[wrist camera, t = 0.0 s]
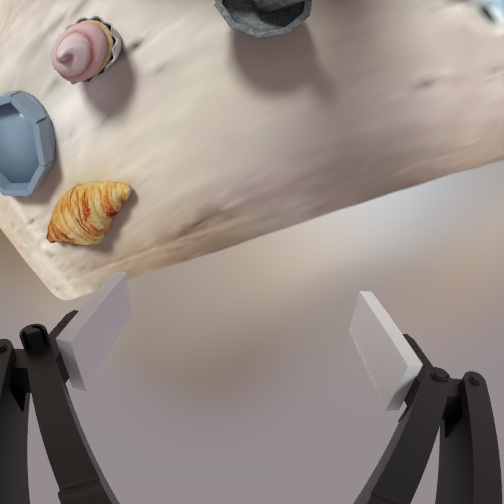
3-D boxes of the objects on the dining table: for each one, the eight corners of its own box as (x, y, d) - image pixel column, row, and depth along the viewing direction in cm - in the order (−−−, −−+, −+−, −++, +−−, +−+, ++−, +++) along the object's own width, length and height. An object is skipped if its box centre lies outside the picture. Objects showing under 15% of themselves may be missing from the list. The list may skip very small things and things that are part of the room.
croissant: (131, 158, 43) (99, 156, 35) (152, 216, 44) (123, 223, 37) (54, 212, 49) (24, 218, 41) (71, 260, 50) (42, 271, 42)
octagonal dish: (9, 70, 28) (-5, 75, 25) (73, 134, 36) (60, 143, 34) (-23, 147, 35) (-34, 155, 32) (31, 204, 44) (21, 215, 41)
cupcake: (78, 86, 32) (36, 103, 24) (71, 28, 26) (27, 32, 18) (136, 72, 31) (100, 83, 24) (131, 9, 26) (93, 2, 18)
